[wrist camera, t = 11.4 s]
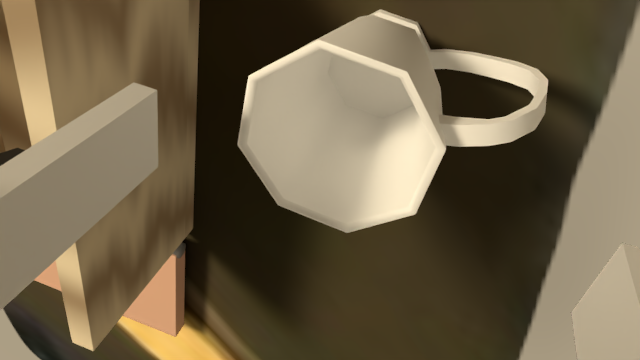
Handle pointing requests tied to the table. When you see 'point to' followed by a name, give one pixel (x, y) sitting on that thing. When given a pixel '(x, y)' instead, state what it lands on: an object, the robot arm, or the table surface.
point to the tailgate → (150, 294)
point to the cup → (368, 120)
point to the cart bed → (84, 94)
